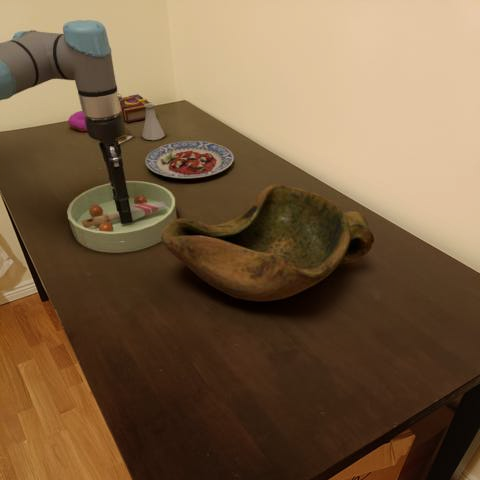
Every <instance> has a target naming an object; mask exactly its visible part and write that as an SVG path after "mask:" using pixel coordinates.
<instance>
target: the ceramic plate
mask: <svg viewBox="0 0 480 480" xmlns="http://www.w3.org/2000/svg"><path fill="white" fill-rule="evenodd" d="M233 162H234V154H233V152H232V151H231V150H229V148H227V147H225V146H224V145H220V144H217V143H214V142H209V141H202V140H201V141H200V140H185V141H177V142H172V143H168V144H167V143H166V144H164V145H161V146H159V147H157V148H155V149H153V150H152V151H150V152H149V153H148V155H147V156H146V157H145V165H146V167H147V168H148V169H149V170H150V171H151V172H153V173H155V174H157V175H159V176H162V177H167V178H171V179H172V178H173V179H182V180H186V179H190V180H191V179H199V178H201V179H202V178H205V177H210V176H215V175H216V174H219V173H222V172H223V171H226V170H227V169H228V168H229V167H230V166H232V164H233Z"/></svg>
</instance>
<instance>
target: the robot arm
mask: <svg viewBox="0 0 480 480" xmlns="http://www.w3.org/2000/svg"><path fill="white" fill-rule="evenodd" d="M108 37H109V36H108V33H107V30H106V27H105V25H104V24H103V23H102V22H100V21H98V20H93V19H87V20H84V19H83V20H82V19H81V20H80V19H79V20H78V19H77V20H72V21H67V22H65V23H64V24H63V26H62V33H59V32H58V33H57V32H48V31H47V32H46V31H37V30H32V29H31V30H23V31H22V30H21V31H17V32H16V33H14V34H13V36H12V38H11V39H10V40H7V41H3V42H0V101H3V100H4V101H5V100H8V99H10V98H12V97H13V96H15V95H17V94H19V93H22V92H24V91H26V90H29V89H31V88H34V87H36V86H39V85H41V84H43V83H46V82H48V81H51V80H65V81H74V83H75V87H76V90H77V95H78V99H79V103H80V107H81V108H80V109H81V111H82V112H83V115H85V116H86V117H85V123H86V127H87V131H86V132H87V134H88V137H89V138H91V139H92V140H96V141H99V142H98V145H99V149H100V152H101V155H102V158H103V161H104V163H105V166H106V170H107V174H108V180H109V182H110V183H111V186H112V187H114V188H113V189H112V191H113V195H114V197H113V200H115V204H116V209H117V212H119V216H120V221H121V224H126V223H131V222H133V219H132V214H131V209H130V205H129V200H128V199H129V195H128V191H127V186H126V181H127V180H126V175H125V171H124V162H123V158H122V148H121V145H120V144H121V143H120V144H119V143H118V140H116V139H117V138H118V137H121V136H122V135H124V133H125V129H126V125H125V126H124V123H125V121H123V116H122V114H121V113H120V112H121V106H120V102H119V101H118V100H121V99H122V98H123V95H122V94H121V93H119V91H118V85H117V81H116V76H115V70H114V63H113V62H114V61H113V55H112V48H111V46H110V42H109V38H108Z"/></svg>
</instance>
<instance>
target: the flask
mask: <svg viewBox="0 0 480 480" xmlns="http://www.w3.org/2000/svg"><path fill="white" fill-rule="evenodd" d="M151 103H152V102H151ZM151 103H150V102H149V103H148V104H145V105H144V107H145V109H146V119H144V124H143V129H142V133H141V134H142V135H141V137H142V138H143V139H145V140H148V141H156V140H160V139H163V138H164V137H165V136H166V134H165V131H164V130H163V128H162V126H161V124H160V122H159V120H158V118H157V115H156V111H155V107H156V104H155V103H152V104H151Z"/></svg>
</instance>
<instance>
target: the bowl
mask: <svg viewBox="0 0 480 480" xmlns="http://www.w3.org/2000/svg"><path fill="white" fill-rule="evenodd" d="M161 239H162V241H161V242H162V244H163V245H164V247H165V248H166V249H167V250H168V251H169V252H170V253H171V254H172V255H173V256H174V257H175V258H177V260H179V261H180V262H181V263H182V264H183V265H185V266H186V267H187V268H188V269H189V270H190V271H192V272H193V273H194V274H195V275H196V276H198V277H199V278H200V279H201V280H202V281H204V282H205V283H207V284H208V285H209V286H211V287H213V288H215V289H216V290H219V291H220V292H222V293H224V294H226V295H228V296H230V297H231V298H234V299H241V300H245V301H250V302H272V301H278V300H283V299H286V298H289V297H292V296H294V295H295V296H296V295H297V294H299V293H302V292H303V291H306V290H307V289H309V288H311V287H313V286H315V285H317V284H319V283H320V282H321V281H323V280H324V279H326V278H327V277H329V275H330V274H332V273H333V272H334V271H335V270H336V268H337V267H338V266H339V265H340V264H350V263H353V262H355V261H358V260H359V259H361V258H364V257H365V256H366V255H367V254H368V253H369V252H370V251H371V249H372V247H373V244H374V243H375V237H374V234H373V232H372V231H371V229H370V227H369V223H368V220H367V218H366V217H365V216H364V215H363V214H361V213H360V212H359V211H356V210H351V211H350V210H349V211H344V210H343V208H341V207H340V206H339V205H338V204H337V203H336V202H334V201H333V200H331V199H328V198H327V197H325V196H323V195H321V194H318V193H316V192H313V191H310V190H306V189H304V188H301V187H297V186H291V185H285V184H280V183H276V184H270V185H268V186H267V187H265V188H264V189H263V190H261V191H260V192H259V193H258V194H257V195H256V197H255V198H254V199H253V200H252V201H251V203H249V205H248V206H247V208H245V209H244V210H243V211H242V212H241V213H240V214H238V215H237V216H235V217H234V218H232V219H230V220H228V221H226V222H222V223H219V224H209V223H205V222H203V221H199V220H195V219H191V218H184V217H183V218H178V217H177V219H176V220H174V221H172V222H170V223H169V224H168V225H167V226H166V227H165V229H164V230H163V232H162V237H161Z"/></svg>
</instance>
